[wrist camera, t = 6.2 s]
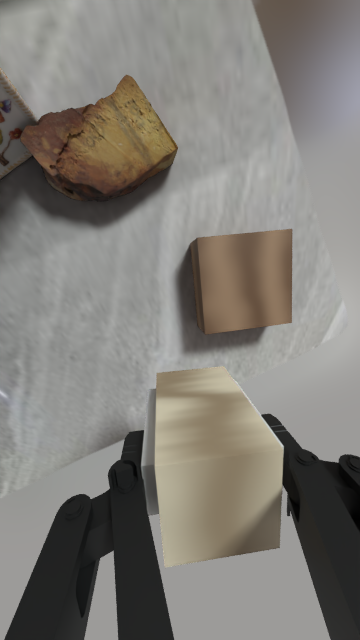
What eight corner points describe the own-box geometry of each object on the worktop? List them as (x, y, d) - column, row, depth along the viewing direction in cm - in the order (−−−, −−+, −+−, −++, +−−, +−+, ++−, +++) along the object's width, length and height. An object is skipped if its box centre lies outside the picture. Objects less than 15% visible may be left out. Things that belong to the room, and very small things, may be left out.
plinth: (197, 325, 33) (205, 334, 28) (190, 243, 31) (197, 237, 26) (272, 315, 34) (291, 322, 30) (271, 235, 32) (292, 228, 27)
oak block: (162, 432, 17) (164, 567, 9) (156, 373, 16) (154, 466, 8) (225, 425, 17) (279, 547, 9) (223, 366, 16) (283, 449, 8)
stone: (143, 94, 27) (140, 52, 22) (178, 171, 29) (183, 150, 24) (35, 152, 27) (7, 125, 22) (78, 225, 29) (62, 215, 24)
